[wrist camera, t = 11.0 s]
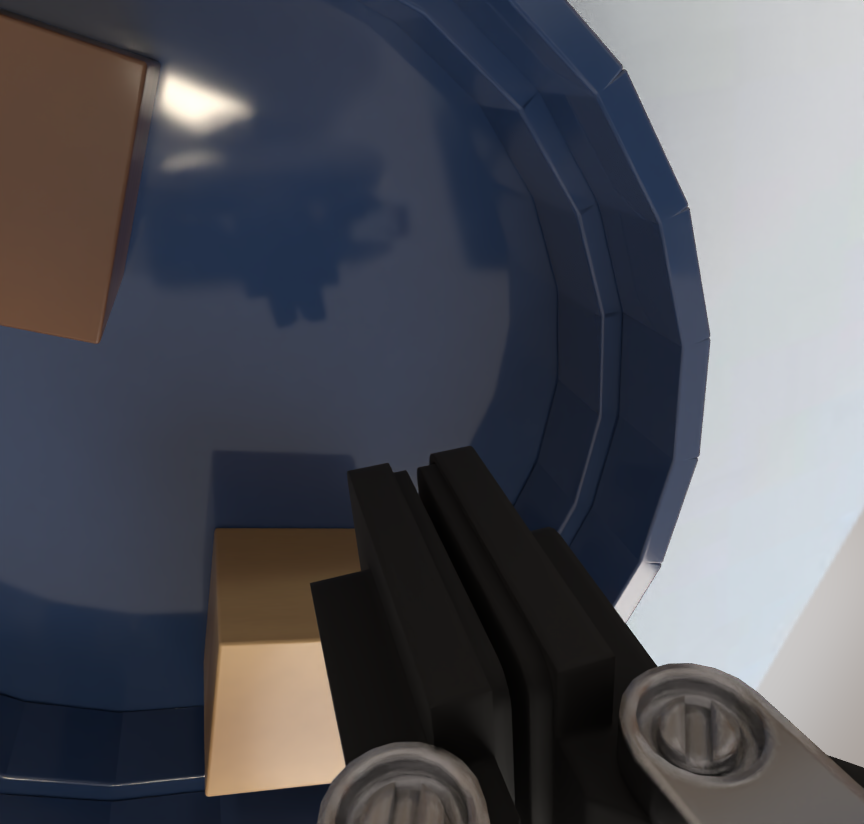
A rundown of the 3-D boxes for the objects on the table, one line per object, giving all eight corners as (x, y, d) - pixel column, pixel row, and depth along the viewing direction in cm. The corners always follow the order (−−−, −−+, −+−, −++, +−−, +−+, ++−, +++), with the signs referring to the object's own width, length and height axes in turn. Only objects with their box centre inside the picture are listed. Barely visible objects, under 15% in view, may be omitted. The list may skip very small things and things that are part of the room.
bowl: (-702, -121, 10) (-1390, -260, 6) (593, -158, 14) (769, -255, 10) (-121, 808, 19) (-218, 1036, 14) (581, 617, 23) (672, 750, 18)
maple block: (214, 526, 17) (218, 644, 14) (380, 527, 19) (423, 635, 15) (203, 661, 19) (204, 799, 15) (358, 653, 20) (392, 777, 17)
